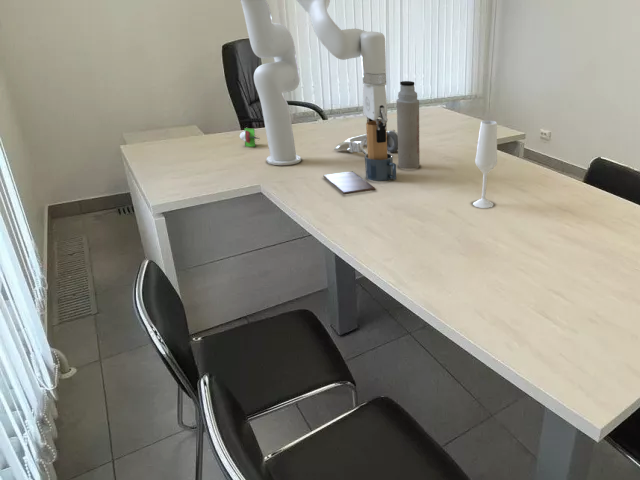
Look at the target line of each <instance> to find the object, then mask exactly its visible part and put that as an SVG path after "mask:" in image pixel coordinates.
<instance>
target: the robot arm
mask: <svg viewBox="0 0 640 480" xmlns="http://www.w3.org/2000/svg"><path fill="white" fill-rule="evenodd" d="M296 1H297V2H298V4H299V5H300V6H301V7H302V8H303V9H304V11H305V12H306V13H307V14H308V15H309V18H310V22H311V26H312V28H313V31H314V33H315V35H316V37H317V39H318V40H319V42H321V44H322V45H323V46H324V47H325V48H326V50H327V51H328V52H329V53H330V54H331V55H332V56H334V57H335V58H336V59H338V60H341V61H344V60H350V59H356V58H361V72H362V73H361V74H362V85H363V87H362V112H363V113H362V114H363V116H365V117H366V123H367V122H369V121H376V125H377V130H376V136H377V142H378V143H382V142H386V126H387V123H388V100H387V90H386V86H387V58H386V57H387V56H386V37H385V35H384V34H383V33H382V32H379V31H366V30H363V29H361V28H346V29H341V28H340V27H339V25H338V24H336V22H335V21H334V19H332V17H331V16H330V15H329V13H328V8H329V6H330V3H331V0H296ZM240 4H241V7H242V12H243V17H244V21H245V26H246V30H247V35H248V39H249V43H250V47H251V50H252V52H253V54H254V55H255V56H256V57H258V58H260V59H272V58H273V60H274V61H271V62H266V63H263V64H260V65H259V66H258V67H256V68H255V70H254V72H253V83H254V86H255V89H256V92H257V95H258V98H259V101H260V106H261V110H262V112H261V113H262V116H263V117H262V118H263V123H264V128H265V134H266V140H267V146H268V151H269V155H268V156H267V157H266V162H267V164H269V165H273V166H291V165H296V164H299V163H300V162H301V161H302V157H301V155H299V154H297V150H296V143H295V136H294V130H293V123H292V117H291V116H292V115H291V110H290V106H289V104H288V102H287V99H286V98H285V95H284V94H285V93H290V92H293V91H295V90H296V89H298V87H299V85H300V80H301V75H300V68H299V62H298V57H297V52H296V46H295V40H294V38H293V35H292V33H291V32H290V30H289V28H288V27H286V26H285V25H284V24H283V23H279V22H273V18H272V13H271V8H270V6H269V3H268V1H267V0H240ZM381 121H382V122H381ZM379 122H380V125H379Z"/></svg>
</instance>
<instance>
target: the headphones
mask: <svg viewBox="0 0 640 480" xmlns="http://www.w3.org/2000/svg"><path fill="white" fill-rule="evenodd" d="M364 146H367V133H366V134H361V135H356V136H352V137H349V138H347V139H346V140H344V141H342V142H340V143H338V144H336V146H335V147H334V148H333V151H347V152H349V153H358V154H359V153H363V154H364V156H365V155H366V154H368V152H366V150H365V148H364ZM387 152H388V153H394V152H398V135H397V131H396V130H395V129H390V130H388V131H387Z"/></svg>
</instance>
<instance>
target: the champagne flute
mask: <svg viewBox="0 0 640 480" xmlns="http://www.w3.org/2000/svg"><path fill="white" fill-rule="evenodd" d="M478 132H479V133H478V140H477V147H476V153H475V160H474V163H475V166H476V167H477V168H478V170H479V171H480V172H481V173H482V189H481V198H479V199H478V200H475V201H474V202H473V203H472V205H473V206H474V207H476V208H480V209H489V208H493V207H494V203H493V202H492V201H490V200H488V199H487V198H486V196H487V195H486V194H487V183H488V173H490V172H491V171H492V170H493V169H495V168H496V166H497V164H498V122H497V121H495V120H481V121H480V126H479V131H478Z"/></svg>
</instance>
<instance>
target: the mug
mask: <svg viewBox="0 0 640 480" xmlns="http://www.w3.org/2000/svg"><path fill="white" fill-rule="evenodd" d="M364 167H365V168H364V170H365V178H366V179H367V180H369V181H373V182H386V181H390V180H394V181H395V180H397V176H398V175H397V163H395V162H394V158H393V154H391V153H389V152H387V159H383V160H374V159H369V158H368V153H367V154H366V155H365V154H364Z"/></svg>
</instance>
